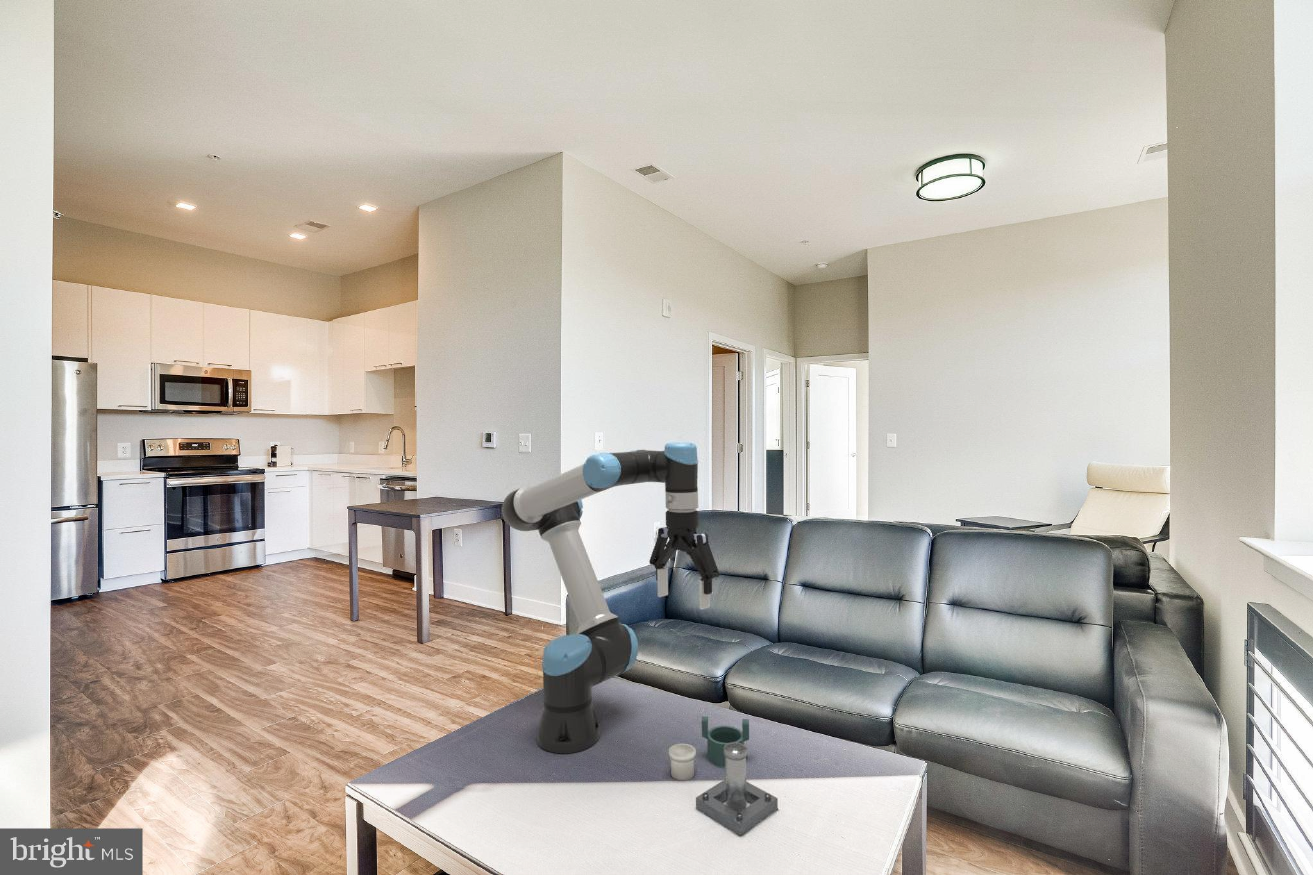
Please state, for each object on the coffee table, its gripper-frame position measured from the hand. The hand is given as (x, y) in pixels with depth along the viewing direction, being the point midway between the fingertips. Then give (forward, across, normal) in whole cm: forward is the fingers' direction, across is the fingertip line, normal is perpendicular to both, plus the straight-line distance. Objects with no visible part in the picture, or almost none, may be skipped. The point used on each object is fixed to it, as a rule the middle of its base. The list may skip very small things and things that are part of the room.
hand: (683, 601), depth 141 cm
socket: (+35, +22, -8) cm, 42 cm away
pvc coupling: (+35, +6, -7) cm, 36 cm away
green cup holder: (+35, +8, +5) cm, 36 cm away
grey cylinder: (+35, +22, -8) cm, 42 cm away
